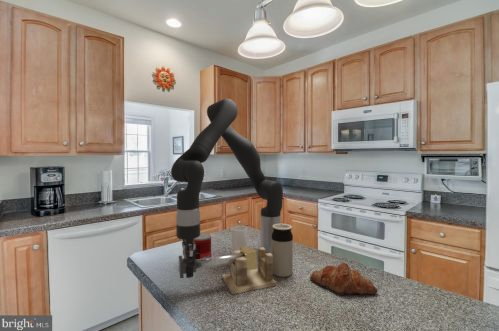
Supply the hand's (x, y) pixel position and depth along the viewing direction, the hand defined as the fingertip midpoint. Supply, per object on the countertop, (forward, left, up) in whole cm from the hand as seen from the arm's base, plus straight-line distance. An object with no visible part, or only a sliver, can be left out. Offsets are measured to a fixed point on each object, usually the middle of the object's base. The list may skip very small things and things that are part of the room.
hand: (188, 273), depth 82 cm
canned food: (-8, -23, -6) cm, 25 cm away
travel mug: (-35, -2, -6) cm, 36 cm away
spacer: (-21, 0, +2) cm, 21 cm away
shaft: (-8, 0, 0) cm, 9 cm away
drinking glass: (-22, -15, -6) cm, 28 cm away
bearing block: (-21, 0, -6) cm, 22 cm away
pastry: (-49, +14, -7) cm, 52 cm away
